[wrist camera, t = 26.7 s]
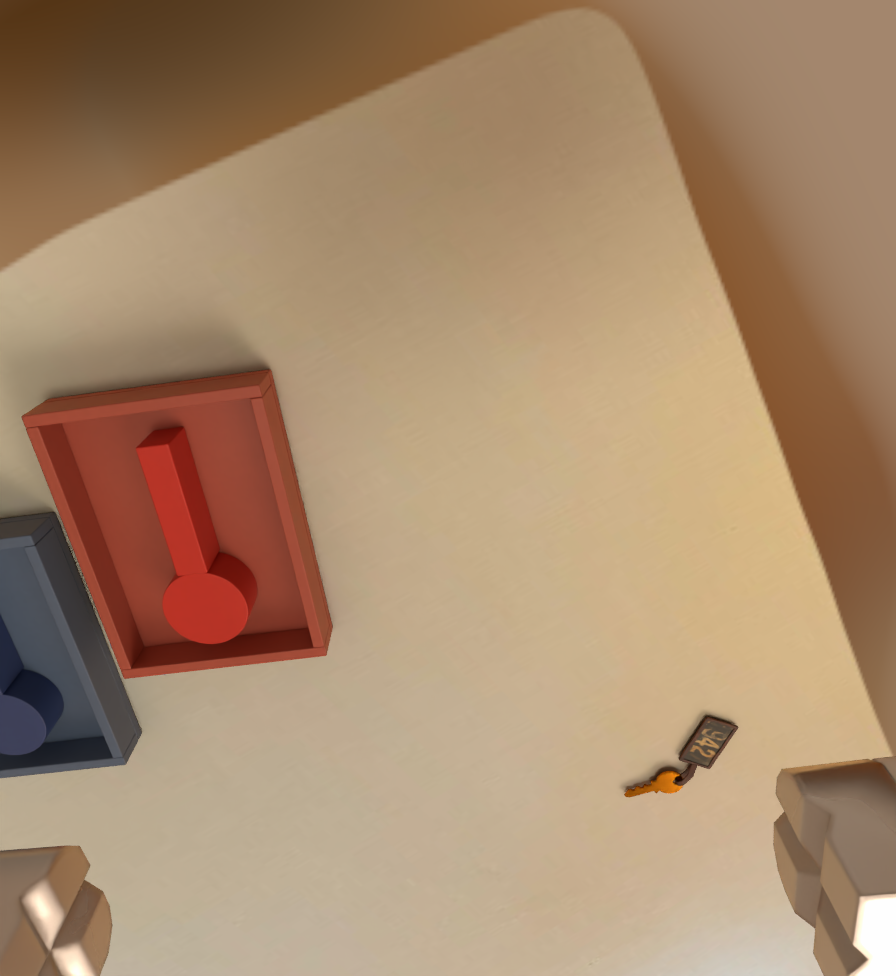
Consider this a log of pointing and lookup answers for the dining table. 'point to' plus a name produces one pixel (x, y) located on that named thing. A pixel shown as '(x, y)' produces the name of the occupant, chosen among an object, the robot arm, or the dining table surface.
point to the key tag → (692, 757)
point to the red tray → (230, 500)
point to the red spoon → (193, 546)
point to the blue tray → (61, 651)
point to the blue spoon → (24, 702)
